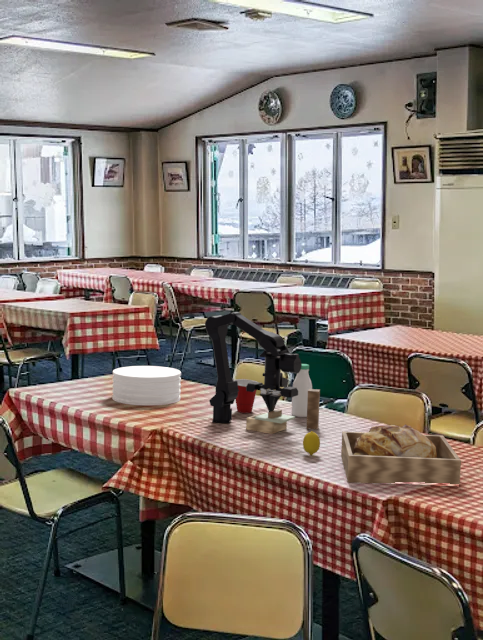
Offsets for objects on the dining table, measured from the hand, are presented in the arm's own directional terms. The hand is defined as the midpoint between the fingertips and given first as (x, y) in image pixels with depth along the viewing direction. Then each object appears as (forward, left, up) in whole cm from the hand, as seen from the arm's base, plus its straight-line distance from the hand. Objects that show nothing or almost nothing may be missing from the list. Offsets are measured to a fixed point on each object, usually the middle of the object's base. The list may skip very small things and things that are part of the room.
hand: (271, 413), depth 332 cm
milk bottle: (+12, +27, -6) cm, 30 cm away
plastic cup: (-10, +30, -6) cm, 32 cm away
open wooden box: (-2, +1, -6) cm, 6 cm away
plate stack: (-52, +48, -7) cm, 71 cm away
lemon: (+14, -33, -6) cm, 37 cm away
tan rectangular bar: (+15, +6, -6) cm, 18 cm away
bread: (+38, -46, -6) cm, 60 cm away
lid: (+1, -1, -2) cm, 2 cm away
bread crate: (+40, -47, -6) cm, 62 cm away
